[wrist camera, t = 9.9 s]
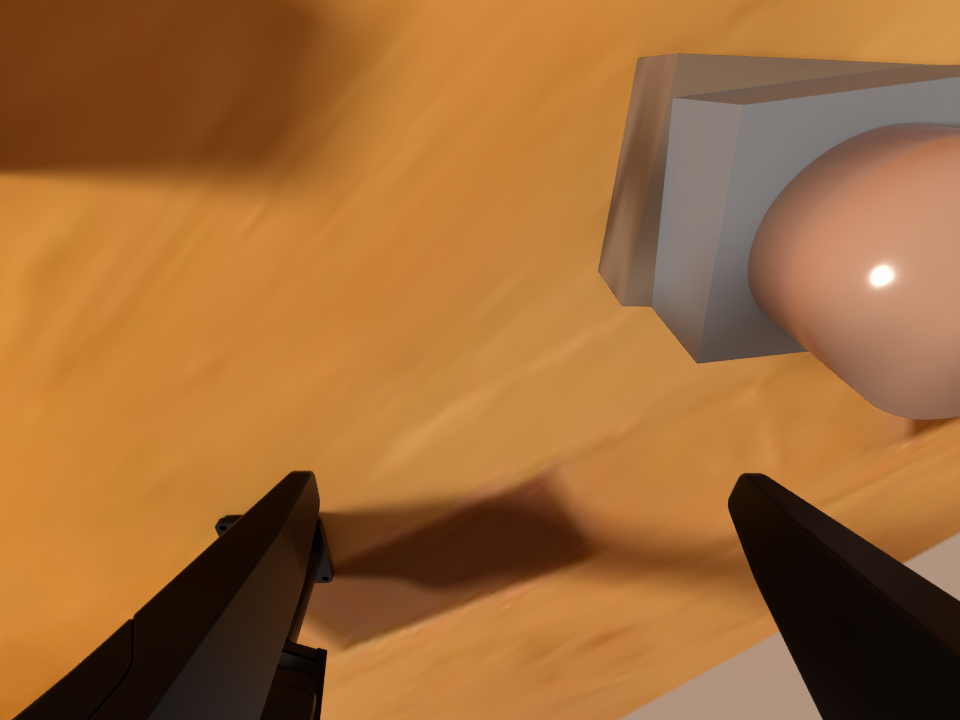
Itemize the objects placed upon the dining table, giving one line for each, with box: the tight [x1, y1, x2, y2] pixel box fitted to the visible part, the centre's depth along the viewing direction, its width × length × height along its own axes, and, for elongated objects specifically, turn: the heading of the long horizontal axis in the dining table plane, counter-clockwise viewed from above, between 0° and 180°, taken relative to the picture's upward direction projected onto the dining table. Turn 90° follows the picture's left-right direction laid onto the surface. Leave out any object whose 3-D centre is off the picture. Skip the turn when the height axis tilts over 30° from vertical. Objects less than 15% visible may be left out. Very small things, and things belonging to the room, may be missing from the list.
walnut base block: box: [598, 53, 937, 307], centre depth 17 cm, size 8×8×4 cm
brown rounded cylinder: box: [748, 123, 960, 419], centre depth 10 cm, size 6×6×4 cm
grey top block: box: [652, 65, 960, 363], centre depth 13 cm, size 7×7×4 cm
